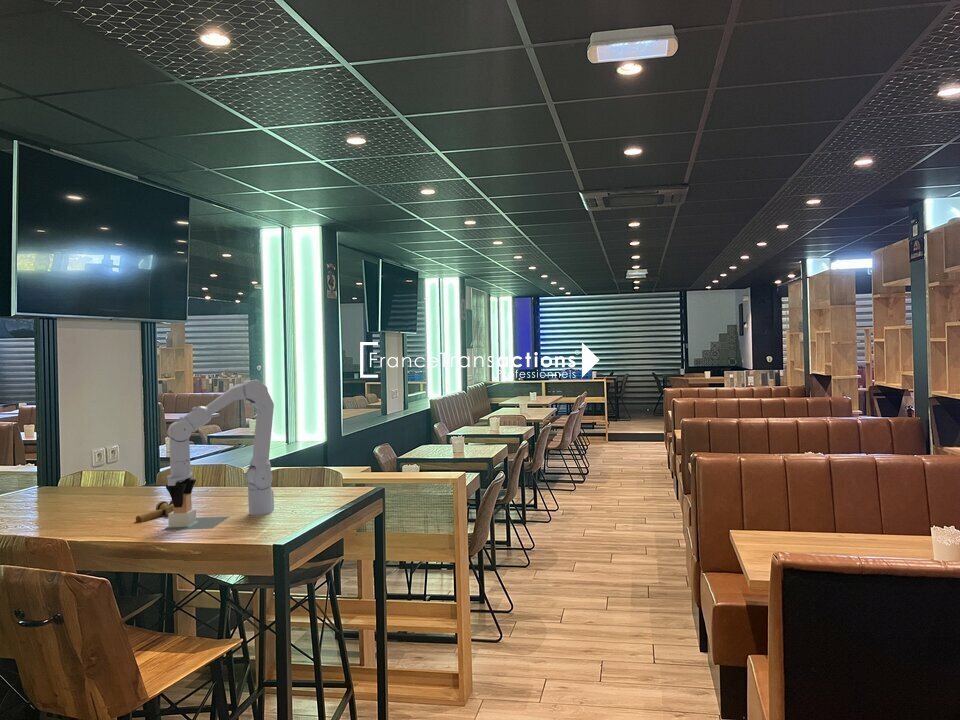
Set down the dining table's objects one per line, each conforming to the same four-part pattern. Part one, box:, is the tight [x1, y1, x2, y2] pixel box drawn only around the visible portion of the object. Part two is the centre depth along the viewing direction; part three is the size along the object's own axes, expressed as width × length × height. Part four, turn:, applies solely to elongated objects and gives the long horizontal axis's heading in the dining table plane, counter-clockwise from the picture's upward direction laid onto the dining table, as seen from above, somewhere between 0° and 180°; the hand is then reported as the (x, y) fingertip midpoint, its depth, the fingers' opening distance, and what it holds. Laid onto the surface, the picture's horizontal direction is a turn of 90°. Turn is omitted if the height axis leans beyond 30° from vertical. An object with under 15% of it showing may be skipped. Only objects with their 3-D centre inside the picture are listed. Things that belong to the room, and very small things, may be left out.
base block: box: [167, 508, 197, 527], centre depth 222 cm, size 6×6×4 cm
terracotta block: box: [173, 493, 193, 513], centre depth 222 cm, size 4×4×5 cm
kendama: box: [135, 499, 173, 523], centre depth 236 cm, size 8×6×18 cm
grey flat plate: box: [161, 516, 230, 531], centre depth 223 cm, size 16×15×1 cm
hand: (181, 505), depth 222 cm, fingers open, 5 cm apart
